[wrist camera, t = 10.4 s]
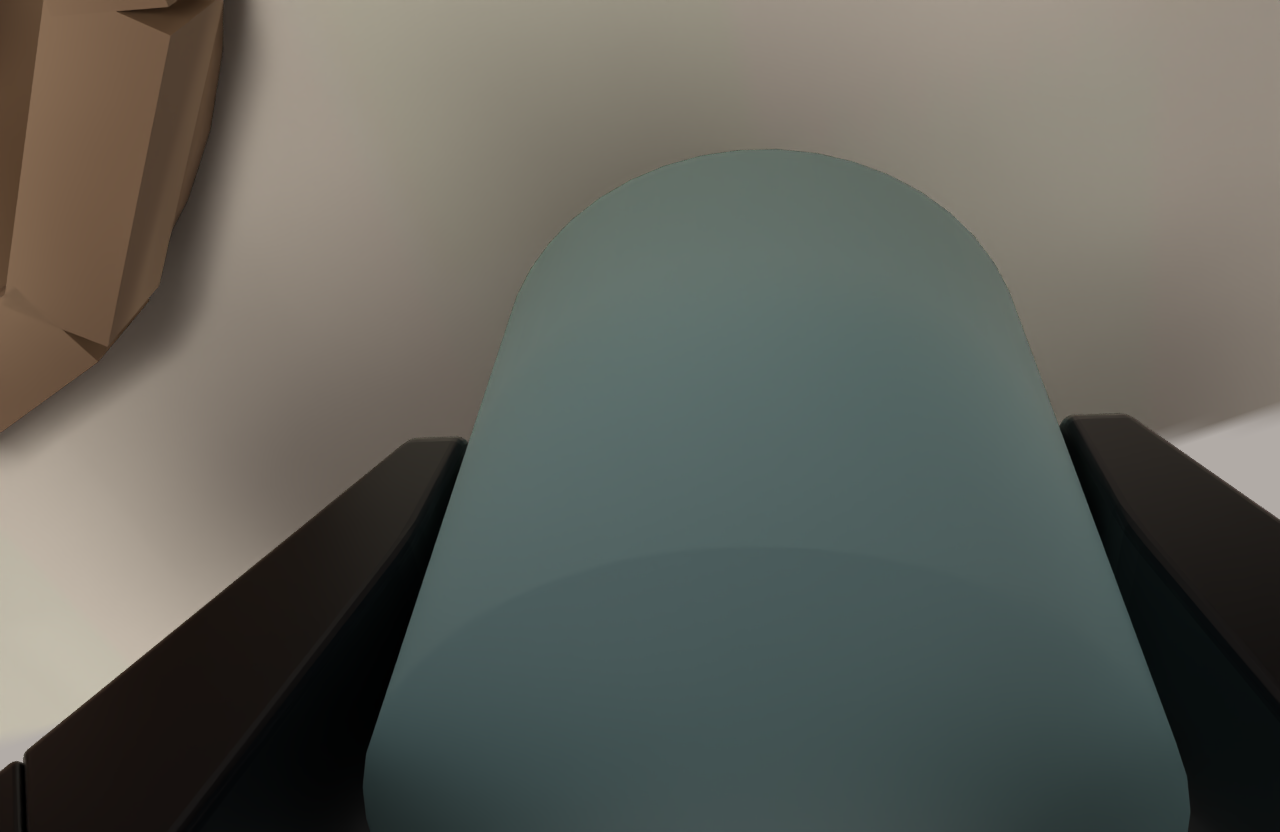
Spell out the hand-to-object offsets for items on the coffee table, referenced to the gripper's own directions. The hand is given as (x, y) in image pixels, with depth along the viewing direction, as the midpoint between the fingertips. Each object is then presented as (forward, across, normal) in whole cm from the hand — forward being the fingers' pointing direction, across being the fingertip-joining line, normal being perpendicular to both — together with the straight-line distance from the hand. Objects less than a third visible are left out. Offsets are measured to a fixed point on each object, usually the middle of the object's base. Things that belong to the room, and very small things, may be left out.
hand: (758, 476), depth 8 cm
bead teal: (+1, 0, 0) cm, 1 cm away
